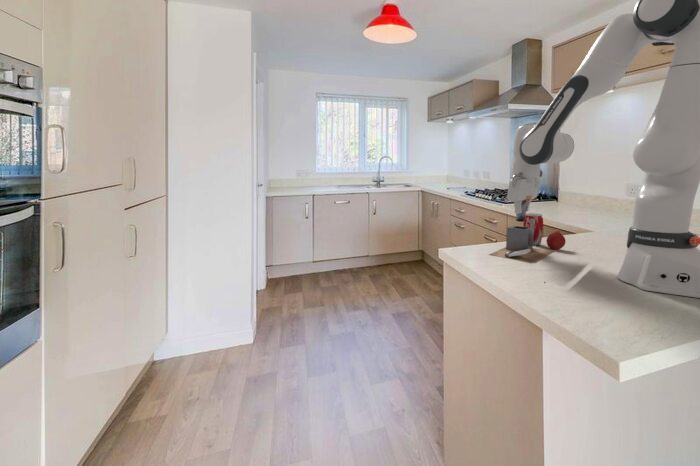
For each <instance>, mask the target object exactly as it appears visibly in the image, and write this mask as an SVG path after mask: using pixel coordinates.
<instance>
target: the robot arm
mask: <svg viewBox="0 0 700 466" xmlns="http://www.w3.org/2000/svg"><path fill="white" fill-rule="evenodd" d="M633 8H634V9H633V12H632V13H624V14H619V15H617V16H616V17H614V18H613V19H612V20H611V21H610V22H609V23H608V24H607V25H606V27H605V28H604V29H603V30H602V32H601V33H600V34H599V35H598V37H597V38H596V40H595V41H594V42H593V45H592V46H591V47H590V49H589V50H588V53H587V54H586V55H585V58H584V59H583V60H582V62H581V63H580V65H579V66H578V68H577V69H576V70H575V72H574V74H573V75H572V76H571V77H570V78H569V79H568V81H566V83H565V84H564V85H563V86H562V87H561V88H560V89H559V92H558V93H557V94H556V96H555V97H554V98H553V100H552V101H551V103H550V104H549V106H548V107H547V108H546V110H545V111H544V113H543V115H542V116H541V117H540V119H539V120H538V121H537V122H532V123H531V122H530V123H526V124H523V125H521V126H519V127H518V128H517V129H516V131H515V133H514V138H513V144H512V145H513V149H512V154H513V159H512V162H511V170H510V172H511V173H510V178H511V179H510V180H509V182H508V187H507V195H506V199H507V201H508V202H513V206H514V214H515V215H516V214H520V213H522V208H521V204H522V201H523V200H526V196H532V199H536V198H537V197H538V195H539V192H540V186H541V178H542V177H543V170H541V165H542V164H552V163H553V164H556V163H561V162H565V161H566V160H567V159H569V158H570V157H571V156H572V154H573V152H574V151H575V150H574V149H575V142H574V139H573V137H572V136H571V135H570V134H568V133H565V132H562V131H560V130H561V128H562V127H564V125H565V124H566V122H567V120H568V119H569V118H570V116H571V115H572V114H573V112H574V111H575V110H576V109H577V108H578V107H579V106H581V105H582V104H583V103H585V102H587V101H588V100H591V99H593V98H596V97H599V96H602V95H604V94H606V93H608V92H610V91H611V90H612V89H613V88H615V86H617V84H618V83H619V82H620V81H621V80H622V79H623V78H624V76H625V74H626V72H628V70H629V67H631V65H632V64H633V62H634V60H635V59H636V57H637V56H638V55H639V53H640V52H641V51H642V50H643V49H644V48H645V47H647V46H649V45H652V46H653V47H660V46H673V47H674V51H673V56H672V59H671V61H670V64H669V68H668V71H667V72H666V73H667V74H666V77H665V79H664V83H663V86H662V88H661V92H660V96H659V98H658V102H657V104H656V106H655V108H654V110H653V113H652V114H651V116H650V118H649V120H648V122H647V124H646V126H645V128H644V130H643V133H642V135H641V138H640V140H639V141H638V143H636V144H635V147H634V149H633V153H632V158H633V161H634V163H635V165H636V166H637V167H638V168H639V169H640V170H641V171H642V172H644V176H643V178H642V182H641V185H640V188H639V190H638V193H637V195H636V196H635V201H634V208H633V215H632V221H631V226H630V227H629V228H628V229H629V230H628V231H627V236H626V237H627V238H626V247H627V249H626V253H625V256H624V259H623V263H622V265H621V267H620V268H619V271H618V273H617V275H616V278H617V279H619V280H621V281H622V282H625V283H627V284H630V285H632V286H636V287H637V288H639V289H641V290H644V291H648V292H649V291H650V292H653V293H654V292H655V293H662V294H668V295H676V296H683V297H691V298H697V299H698V298H699V299H700V249H699V248H697V247H698V246H699V245H700V236H698V235H697V234H695V233H693V232H691V231H690V224H691V219H692V213H693V207H694V202H695V198H696V194H697V192H698V189H699V186H700V0H637V2H636V4H635V5H634V7H633ZM531 201H532V200H527V206H526V213H527V212H528V211H529V208H530V204H531Z"/></svg>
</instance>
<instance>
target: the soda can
mask: <svg viewBox="0 0 700 466" xmlns="http://www.w3.org/2000/svg"><path fill="white" fill-rule="evenodd" d="M522 227H531V228H534V238H533V245H537V246H540V245H541V244H542V239H543V229H544V217H543V214H541V213H531V212H530V213H526V217H525V221H524V222H522Z"/></svg>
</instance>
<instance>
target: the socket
mask: <svg viewBox="0 0 700 466" xmlns="http://www.w3.org/2000/svg"><path fill="white" fill-rule="evenodd" d="M533 238H534V228H531V227H523V226H520V225H512V226H508V227H507V228H506V240H505V241H506V243H505V244H506V245H505V247H506V250H513V251H521V250H526V249H531V250H532V249H533V248H534V246H533Z"/></svg>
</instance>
